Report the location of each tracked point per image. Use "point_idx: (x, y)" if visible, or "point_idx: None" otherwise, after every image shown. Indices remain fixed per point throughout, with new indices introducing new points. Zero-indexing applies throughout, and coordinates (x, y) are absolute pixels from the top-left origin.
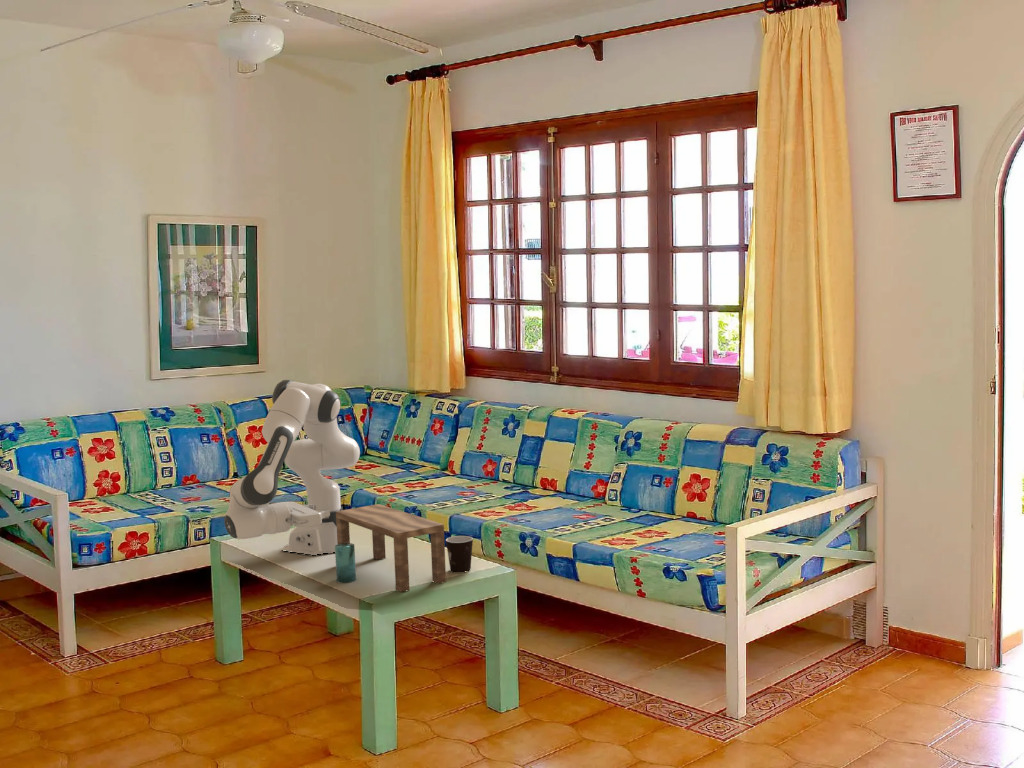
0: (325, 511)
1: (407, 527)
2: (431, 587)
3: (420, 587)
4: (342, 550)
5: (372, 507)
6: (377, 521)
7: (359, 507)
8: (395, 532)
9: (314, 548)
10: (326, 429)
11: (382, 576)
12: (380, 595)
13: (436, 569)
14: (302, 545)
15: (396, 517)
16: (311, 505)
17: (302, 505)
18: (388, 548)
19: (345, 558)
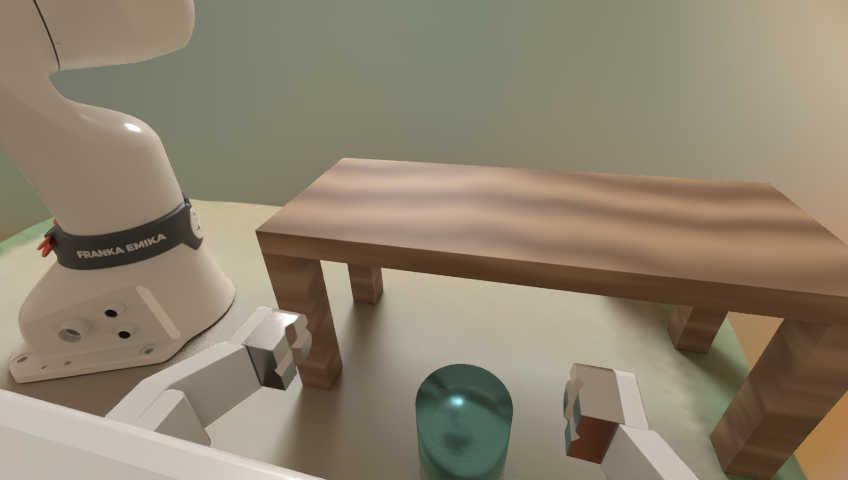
0: (644, 417)
1: (768, 239)
2: (740, 383)
3: (723, 400)
4: (496, 448)
5: (355, 174)
6: (561, 240)
7: (311, 184)
8: None
9: (148, 336)
10: None
11: (520, 387)
12: None
13: (717, 321)
14: (94, 340)
15: (549, 195)
16: (272, 338)
17: (218, 463)
18: None
19: (501, 462)
